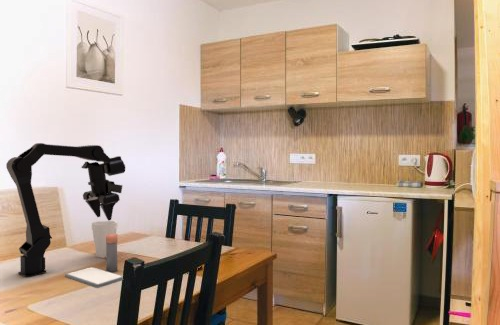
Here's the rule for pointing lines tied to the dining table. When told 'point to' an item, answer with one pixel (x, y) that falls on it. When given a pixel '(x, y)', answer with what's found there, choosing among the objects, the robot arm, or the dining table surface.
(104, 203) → the robot arm
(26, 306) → the dining table surface
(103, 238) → the foam cup
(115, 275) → the notebook
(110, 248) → the cylinder
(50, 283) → the dining table surface
